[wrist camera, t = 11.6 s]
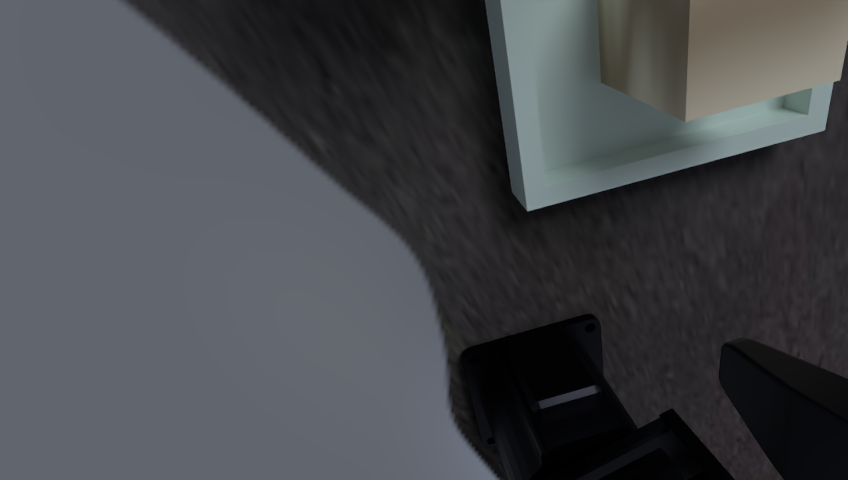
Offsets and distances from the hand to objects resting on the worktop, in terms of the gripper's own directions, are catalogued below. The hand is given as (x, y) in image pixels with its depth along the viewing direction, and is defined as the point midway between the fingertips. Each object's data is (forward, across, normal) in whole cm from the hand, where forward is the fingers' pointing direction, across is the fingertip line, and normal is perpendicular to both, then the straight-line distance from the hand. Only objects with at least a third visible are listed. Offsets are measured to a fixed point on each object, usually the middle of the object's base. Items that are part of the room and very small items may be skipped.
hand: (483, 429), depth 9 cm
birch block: (+11, -10, -4) cm, 16 cm away
